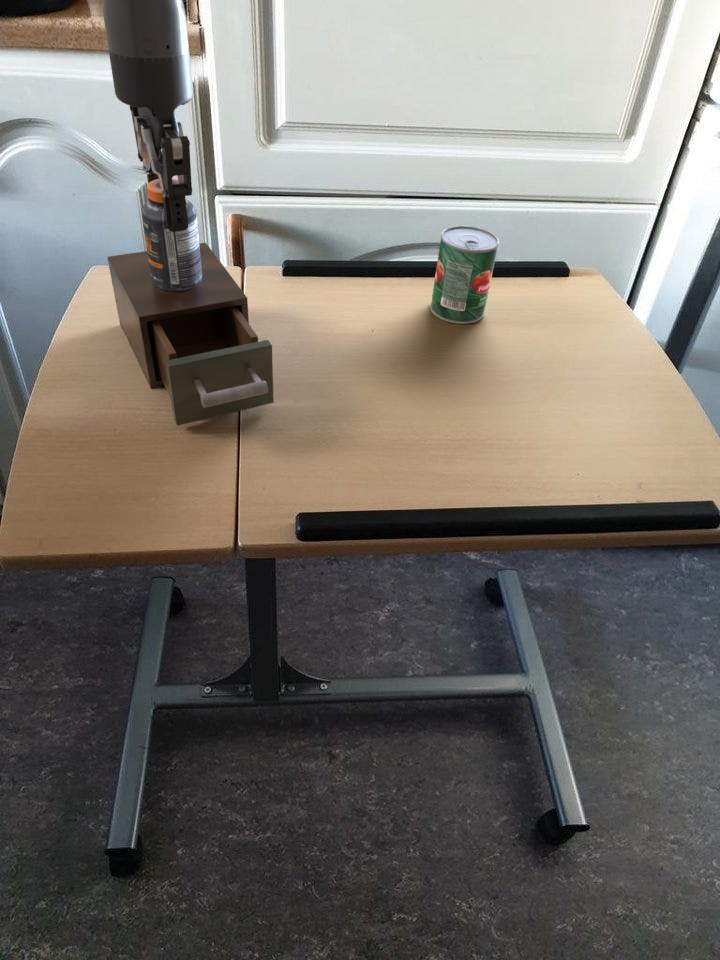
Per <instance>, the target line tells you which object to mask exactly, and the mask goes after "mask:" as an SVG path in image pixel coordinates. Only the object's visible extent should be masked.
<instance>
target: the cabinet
mask: <svg viewBox="0 0 720 960" xmlns="http://www.w3.org/2000/svg"><path fill="white" fill-rule="evenodd" d="M199 246H200V256H201V267H202V280H201V282H200V283H199V284H198V285H196V286H195V287H193V288H190V289H187V290H181V291H171V290H165V289H162V288H159V287H157V286H156V285H155V284H154V283H153V282H152V280H151V274H150V267H149V260H148V254H147V250H144V251H137V252H130V253H123V254H118V255H110V256H106V257H107V264H108V268H109V269H108V270H109V274H110V279H111V283H112V291H113V294H114V300H115V301H114V302H115V305H116V311H117V316H118V321H119V326H120V327H121V330H122V332H123V334H124V336H125V338H126V340H127V342H128V344H129V347H130V348H131V350H132V353H133V354H134V357H135V359H136V361H137V363H138V365H139V367H140V370H141V372H142V373H143V375H144V377H145V379H146V381H147V385H148V386H149V388H150V389H155V388H160V387H165V386H164V384H163V382H162V380H161V378H160V376H159V374H158V372H157V370H156V368H155V366H154V363H153V357H152V351H151V344H150V338H149V332H148V326H147V322H149V321H154V320H160V319H165V318H171V317H176V316H182V315H187V314H193V313H198V312H204V311H209V310H215V309H220V308H226V307H231V306H236V307H237V308H238V310H239V311H240V313H241V314H242V315H243V317H244V318H245V319H246V321H247V322H248V324H249V325H250V321H249V305H248V304H249V303H248V302H249V301H248V300H249V299H248V296H247V295H246V293H245V292H244V291H243V290H242V288H240V286H239V285H238V283H237V282H236V280H235V279H234V278H233V276H231V274H230V273H229V271H228V270H227V268H226V267H225V266H224V265H223V263H222V262H221V261H220V259H219V258H218V257H217V255H216V254H215V253H214V251H213V250H212V249H211V248H210V246H209V244H207V242H199Z"/></svg>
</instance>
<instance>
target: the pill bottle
mask: <svg viewBox="0 0 720 960" xmlns="http://www.w3.org/2000/svg"><path fill="white" fill-rule="evenodd" d="M172 184H179V182H178V179H177V178H172ZM146 189H147V190H146V191H147V198H148V200H147V201H146V202H145V203H144V204H143V206H142V208H141V218H142V226H143V233H144V240H145V245H146V251H147V254H148V260H149V267H150V274H151V280H152V282H153V283H154V284H155V285H156V286H157V287H159V288H162V289H165V290H171V291H181V290H187V289H190V288H193V287H195V286H196V285H198V284H199V283H200V282H201V280H202V267H201V256H200V246H199V243H200V238H199V237H200V236H199V227H198V217H197V210H196V207H195V205H194V204H193V202H191V201H190V200H189V199H186V209H187V218H188V228H187V229H186V230H183V231H176V232H171V231H169V229H168V228H167V226H166V218H165V210H164V202H163V195H162V194H161V186H160V181H159V179H156V180H153V181H151V182H149V183H148V182H147V184H146ZM186 197H187V196H185V198H186Z"/></svg>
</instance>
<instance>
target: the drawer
mask: <svg viewBox="0 0 720 960" xmlns="http://www.w3.org/2000/svg"><path fill="white" fill-rule="evenodd" d="M147 326H148V332H149V338H150V344H151V351H152V357H153V363H154V366H155V368H156V370H157V372H158V374H159V376H160V378H161V380H162V382H163V384H164V386H163V387H164V388H165V390H166V391H167V394H168V395H169V398H170V403H171V409H172V410H171V411H172V417H173V421H174V423H175V425H176V426H177V427H178V426H182V425H187V424H191V423H194V422H198V421H204V420H207V419H211V418H212V419H213V418H215V417H219V416H224V415H228V414H232V413H236V412H240V411H244V410H245V411H246V410H249V409H253V408H257V407H261V406H265V405H270V404H273V403H274V373H273V372H274V371H273V368H274V367H273V366H274V365H273V344H272V343H271V342H270V340H269V339H265V340H260V341H259V336H258V334H257V333H256V332H255V330H254V329H253V328H252V326H251V325H250V323H249V324H248V322H247V321H246V319H245V318H244V317H243V315H242V314H241V313H240V311H239V310H238V308H237V307H236V306H231V307H226V308H220V309H215V310H209V311H204V312H198V313H193V314H187V315H182V316H176V317H171V318H165V319H160V320H154V321H149V322H147Z"/></svg>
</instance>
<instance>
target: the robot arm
mask: <svg viewBox="0 0 720 960" xmlns="http://www.w3.org/2000/svg"><path fill="white" fill-rule="evenodd" d="M102 15H103V23H104V29H105V36H106V42H107V43H106V44H107V49H108V55H109V56H108V57H109V62H110V68H111V75H112V76H111V77H112V81H113V82H112V83H113V87H114V89H113V90H114V95H115V96H116V98H117V99H118V101H120V102H121V103H123V104H125V105H127V106H129V110H130V113H131V119H132V126H133V130H134V131H133V132H134V137H135V143H136V147H137V148H136V149H137V158H138V159H139V162H141V163H142V169H143V171H144V173H145V174H146V179H147V184H148V183H149V182H151V181H153V180H156V179H159V181H160V186H161V194H162V195H163V202H164V210H165V218H166V226H167V228H168V229H169V231H171V232H176V231H183V230H186V229H187V228H188V218H187V209H186V200H187V199H186V197H188V196H190V197H191V196H192V195H193V187H192V168H191V150H190V149H191V147H190V146H191V142H190V139H189V137H188V136H187V135H184V130H183V126H182V122H180V121H178V120H177V115H176V109H178V107H180V106H184V105H187V104H188V103H190V102H191V101H192V99H193V96H194V89H193V79H192V67H191V66H192V65H191V56H190V55H191V53H190V45H189V31H188V22H187V15H186V9H185V5H184V0H102ZM176 176H177V180H178V182H179V184H172V179H173V177H176ZM185 196H186V197H185Z"/></svg>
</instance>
